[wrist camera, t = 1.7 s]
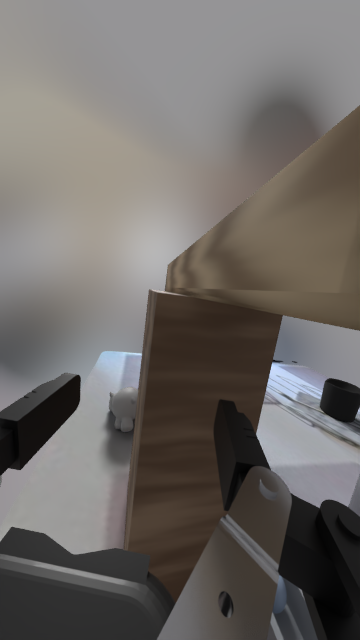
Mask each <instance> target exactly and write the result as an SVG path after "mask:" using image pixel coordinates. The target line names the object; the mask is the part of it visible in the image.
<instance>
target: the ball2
mask: <svg viewBox="0 0 360 640" xmlns="http://www.w3.org/2000/svg"><path fill="white" fill-rule="evenodd" d="M286 601H287V592H286V587H285V583H284V580H283V578H282V577H281V576H280V575H279V580H278V586H277V591H276V596H275V601H274V606H273V611H272V612H273V613H275V614H277V613H280V612H282V611H283V610H284V608H285V606H286Z"/></svg>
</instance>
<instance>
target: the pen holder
mask: <svg viewBox="0 0 360 640" xmlns="http://www.w3.org/2000/svg"><path fill="white" fill-rule="evenodd" d="M359 407H360V388H358V387H357V386H355V385H352V384H350V383H347V382H344V381H341V380H337V379H332V378H329V379H327V380H326V381H325V384H324V388H323V393H322V397H321V402H320V408H321V409H322V410H323V411H324V412H325V413H326V414H328V415H329V416H331V417H333V418H335V419H338V420H341V421H344V422H352V421H354V419H355V417H356V414H357V412H358V409H359Z"/></svg>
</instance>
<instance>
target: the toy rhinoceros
mask: <svg viewBox="0 0 360 640" xmlns="http://www.w3.org/2000/svg"><path fill="white" fill-rule="evenodd" d="M110 397H111V398H110V401H109V409H110V411H111V412H113V414H114V416H115V417H116V420H115V429H121V431H122V432H129V431H131V430H132V429H133V423H135V416H136V407H137V397H138V390H137V389H135V388H132V387H127V388H123V389H121V390H120V391H119V392H118V393H116V394H113V393H111V392H110Z"/></svg>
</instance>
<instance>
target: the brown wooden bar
mask: <svg viewBox="0 0 360 640" xmlns="http://www.w3.org/2000/svg"><path fill="white" fill-rule="evenodd" d="M165 292H170V293H175V294H180V295H185V296H190V297H195V298H200V299H205V300H210V301H215V302H220V303H225V304H230V305H235V306H240V307H245V308H250V309H255V310H260V311H265V312H270V313H275V314H280V315H285V316H290V317H294V318H300V319H305V320H309V321H314V322H319V323H324V324H329V325H334V326H340V327H344V328H349V329H354V330H359V331H360V106H358V107H357V108H356V109H355V110H354V111H352V112H351V113H350V114H349V115H348V116H346V117H345V118H344V119H343V120H342V121H340V122H339V123H338V124H337V125H336V126H334V127H333V128H332V129H331V130H330V131H328V132H327V133H326V134H325V135H324V136H322V137H321V138H320V139H319V140H318V141H316V142H315V143H314V144H313V145H312V146H311V147H309V148H308V149H307V150H306V151H304V152H303V153H302V154H301V155H300V156H298V157H297V158H296V159H295V160H294V161H292V162H291V163H290V164H289V165H288V166H286V167H285V168H284V169H283V170H281V171H280V172H279V173H278V174H277V175H276V176H274V177H273V178H272V179H271V180H269V181H268V182H267V183H266V184H265V185H264V186H262V187H261V188H260V189H259V190H258V191H256V192H255V193H254V194H253V195H251V196H250V197H249V198H248V199H247V200H245V201H244V202H243V203H242V204H241V205H239V206H238V207H237V208H236V209H235V210H233V212H231V213H230V214H229V215H227V216H226V217H225V218H224V219H223V220H222V221H220V222H219V223H218V224H217V225H216V226H214V227H213V228H212V229H211V230H210V231H208V232H207V233H206V234H205V235H203V236H202V237H201V238H200V239H199V240H197V241H196V242H195V243H194V244H193V245H191V246H190V247H189V248H188V249H187V250H185V251H184V252H183V253H182V254H181V255H179V256H178V257H177V258H176V259H175V260H173V261H172V262H171V263H170V264H169V265H168V269H167V278H166V286H165Z"/></svg>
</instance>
